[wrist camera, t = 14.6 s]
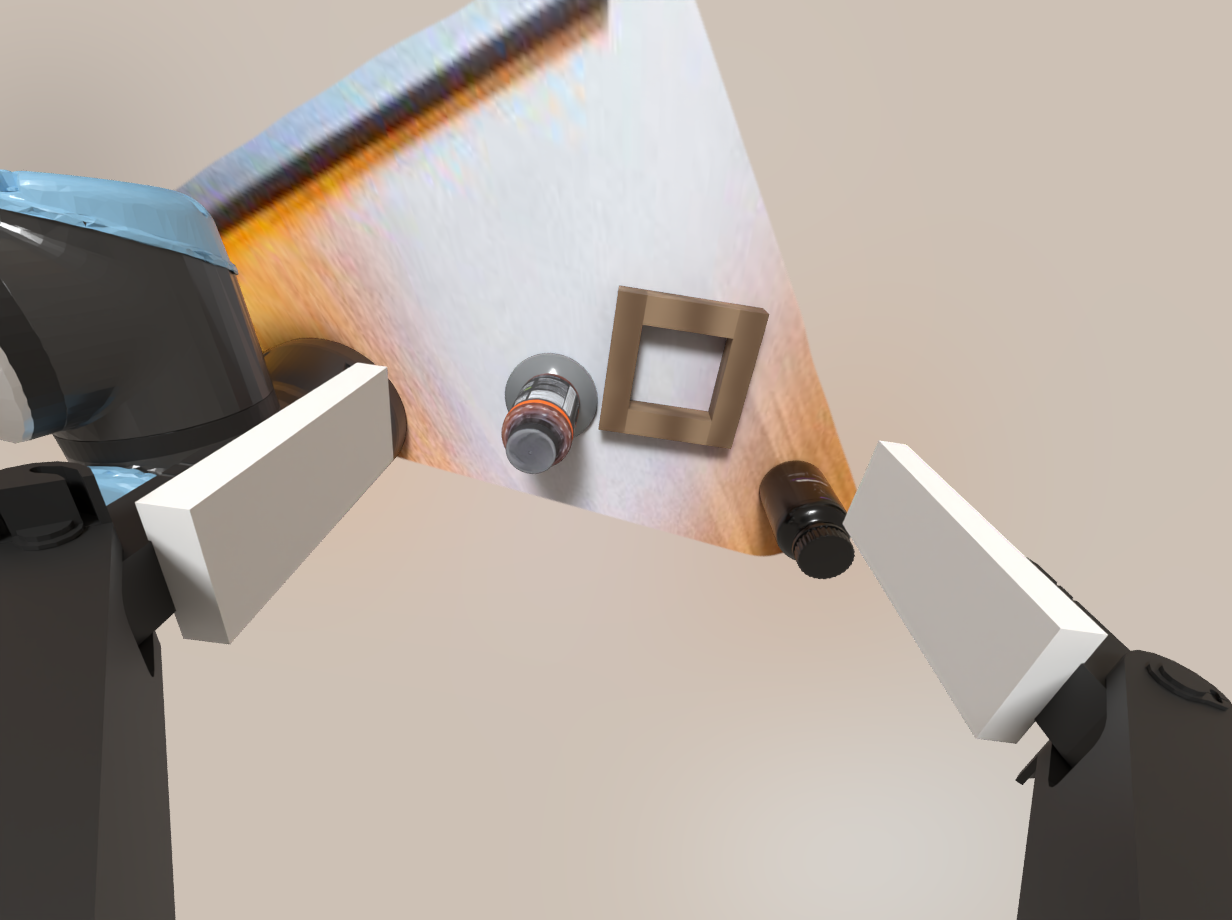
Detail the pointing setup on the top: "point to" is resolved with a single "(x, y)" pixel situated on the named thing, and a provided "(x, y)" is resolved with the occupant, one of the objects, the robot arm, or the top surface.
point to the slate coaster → (562, 368)
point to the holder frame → (690, 316)
